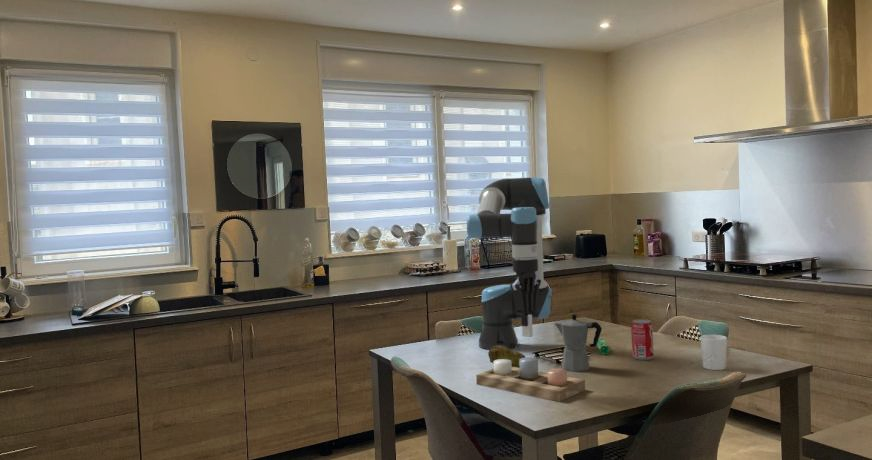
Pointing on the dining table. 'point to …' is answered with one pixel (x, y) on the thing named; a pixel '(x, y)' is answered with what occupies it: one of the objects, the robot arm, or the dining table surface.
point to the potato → (505, 355)
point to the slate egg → (528, 367)
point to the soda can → (642, 339)
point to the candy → (603, 347)
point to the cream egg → (502, 367)
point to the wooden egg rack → (531, 384)
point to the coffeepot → (576, 343)
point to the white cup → (714, 351)
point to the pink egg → (557, 377)
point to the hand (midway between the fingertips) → (527, 336)
